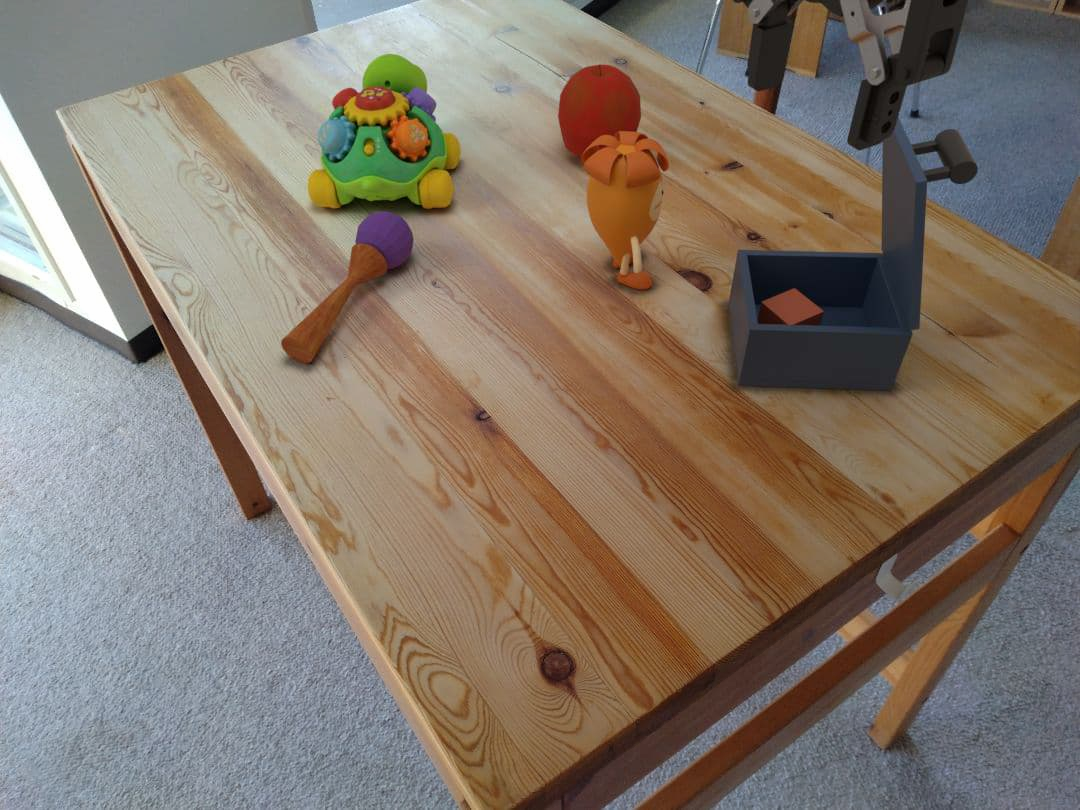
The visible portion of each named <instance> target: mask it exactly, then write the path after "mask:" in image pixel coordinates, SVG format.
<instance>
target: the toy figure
mask: <svg viewBox="0 0 1080 810" xmlns="http://www.w3.org/2000/svg"><path fill="white" fill-rule="evenodd" d="M599 145H606V146H607V147H606V148H603V149H601V150H599ZM651 150H652V151H654V152H656V157H655V156H654V154H653V152H652V151H651ZM580 160H581V161H580V162H581V163H582V164H583V171H584V172H585V173H586V174H587V175H588V176H589V177H588V181H587V187H586V205H587V210H588V215H589V218H590V221H591V224H592V227H593V229H594V231H595V232H596V234H597V235H598V236H599V238H600V239H601V241H602V242H603V243H604V244H605V246H606V248H607V249H608V251H609V253H610V254H611V256H612V258H613V260H612V266H613V267H614V268H616V269H620V270H619V271H618V274H617V276H616V281H617V283H620V284H621V285H624V286H627V287H629V288H632V289H635V290H648V289H650V288H651V287H652V285H653V280H652V277H651V275H650V274H649V273H647V272H646V271H642V270H643V267H642V266H643V264H642V263H643V262H642V261H643V260H642V251H641V244H643V242H644V241H646V239H647V238H648V237H649V236H650V235H651V233H652V231H653V230H654V228H655V226H656V224H657V223H658V220H659V217H660V214H661V211H662V206H663V199H664V193H665V192H664V184H663V176H662V173H661V171H662V172H667V171H668V169H669V166H670V164H669V163H670V162H669V159H668V157H667V155H666V152H665V150H664V148H663V147H662V145H661V144H660V142H658V141H657V140H655V139H653V138H649V137H648V136H647V135H646V134H645V133H642V132H638V131H637V132H630V131H619V132H617V133H616V134H615V136H614V137H613V136H611V135H603V136H600V137H599V138H597V139H596V140H595V141H594V142H592V143H591V144H590V146H589V147H588V148H587V149H586V150H585V151H584V153H583V155H582V157H581V159H580ZM630 264H633V265H632V266H633V271H629V269H630Z"/></svg>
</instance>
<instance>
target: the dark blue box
mask: <svg viewBox="0 0 1080 810" xmlns="http://www.w3.org/2000/svg"><path fill="white" fill-rule="evenodd" d="M735 258H736V259H735V263H734V264H735V265H734V271H733V276H732V282H731V287H730V293H729V299H728V305H727V306H728V313H729V321H730V330H731V337H732V338H731V339H732V347H733V352H734V361H735V368H736V377H737V385H738V386H739V387H763V388H764V387H767V388H795V389H823V390H825V389H826V390H853V391H854V390H857V391H880V392H881V391H885V392H892V389H893V386H894V384H895V382H896V379H897V376H898V374H899V371H900V368H901V366H902V364H903V361H904V358H905V356H906V353H907V350H908V348H909V345H910V343H911V340H912V338H913V335H914V333H913V330H910V329H909V327H908V324H907V321H906V318H905V315H904V312H903V310H902V307H901V304H900V301H899V298H898V295H897V292H896V289H895V287H894V284H893V281H892V278H891V275H890V272H889V269H888V266H887V264H886V261H885V258H884V255H883V252H857V251H853V252H852V251H851V252H850V251H815V250H814V251H809V250H806V251H805V250H771V249H770V250H769V249H768V250H766V249H764V250H763V249H737V253H736V257H735ZM794 288H795V289H797V290H798V291H799V292H800V293H802V294H803V295H804V296H805V297H807V298H808V299H809V300H810V301H812V302H813V303H814V304H815V305H817V306H818V307H819V308H820V309H822V310H823V311H824V313H823V317H822V321H821V324H820V326H812V325H778V324H758V316H759V311H760V306H761V302H762V301H765V300H767V299H769V298H772V297H774V296H777V295H779V294H782V293H784V292H786V291H789V290H791V289H794Z"/></svg>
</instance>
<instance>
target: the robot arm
mask: <svg viewBox="0 0 1080 810" xmlns="http://www.w3.org/2000/svg"><path fill="white" fill-rule="evenodd" d="M804 1H806V2H808V3H810V4H811V3H812V4H821V5H823V7H825V8H826V9H827V10H828V11H829V12H830V13H832V14H833V15H836V16H838V17H843V20H844V24H845V28H846V33H847V36H848V38H849V40H850V41H851V42H853V43H856V44H857V46H858V48H859V49H858V50H859V53H860V57H861V61H862V66H863V69H864V73H865V79H862V80H861V82H860V86H859V90H858V93H857V97H856V98H857V99H856V102H855V107H854V111H853V115H852V118H851V122H850V126H849V129H848V130H849V131H848V134H847V138H846V143H847V145H848V146H850V147H852V148H854V149H856V150H857V151H862V150H866V149H870V148H872V147H874V146H878V145H880V144H882V143H883V140H884V139H886V138H889V137H890V136H891V134H892V133H893V131H894V130H895V126H896V123H897V119H898V117H899V116H900V111H901V108H902V105H903V102H904V97H905V94H906V91H907V87H909V86H911V85H915V84H917V83H921V82H924V81H927V80H930V79H933V78H937V77H941V76H943V75H946V74H947V73H948V72H949V71H950V70H951V67H952V64H953V60H954V57H955V53H956V48H957V46H958V42H959V38H960V34H961V30H962V27H963V22H964V18H965V15H966V11H967V7H968V4H969V0H885V2H886V6H887V12H885V13H882V14H879V15H876V14H874V13H873V12H872V11H871V10H872V9H875V8H876V7H878V6H879V5H880V4H881V3H883V1H884V0H732V2H733V3H735V4H740V3H743V4H744V6H745V7H746V8H747V16H748V19H749V21H750V23H752V31H751V37H750V43H749V50H748V57H747V64H746V65H747V67H746V68H747V75H748V77H747V85H748V87H749V88H751V89H753V90H755V91H756V92H762V91H765V90H769V89H772V88H776V87H779V86H780V85H781V84H782V82H783V81H784V78H785V73H786V67H787V62H788V56H789V50H790V45H791V39H792V34H793V30H794V23H795V22H794V21H792V20H790V19H788V17H789V16H791V15H792V14H793V13H795V11H796V10H797V8H798V7H800V5H801V4H802V3H803V2H804ZM884 35H885V36H886V37H887V40H888V41H887V42H888V45H889V49H890V53H891V54H890V55H888V51H887V47H886V43H885V39H884ZM1078 810H1080V808H1079V809H1078Z"/></svg>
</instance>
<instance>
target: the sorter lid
mask: <svg viewBox="0 0 1080 810" xmlns="http://www.w3.org/2000/svg"><path fill="white" fill-rule="evenodd" d="M930 153H937V154H936V155H938V158H939V160H940V162H941V164H942V166H940V167H936V168H930V169H925V170H923V168H922V166H921V163H920V161H919V160H918V157H917V156H920V155H925V154H930ZM881 167H882V169H881V170H882V171H881V172H882V173H881V175H882V176H881V251H882V252H881V253H883V255H884V258H885V261H886V264H887V266H888V269H889V272H890V275H891V278H892V281H893V284H894V287H895V289H896V292H897V295H898V298H899V301H900V304H901V307H902V310H903V312H904V315H905V318H906V321H907V324H908V327H909V329H910V330H911V331H915V330H920V329H921V328H920V327H921V311H922V310H921V309H922V308H921V307H922V292H923V291H922V290H923V271H924V267H923V266H924V250H925V234H926V233H925V231H926V214H927V213H926V212H927V195H928V194H927V193H928V183H931V182H937V181H941V180H948V179H949V180H950V181H951V182H952V183H953V184H956V185H965V184H967V183H969V182H971V181H972V180H973V179H974V178H975V177H976V176H977V174H978V172H979V167H978V164H977V163H976V160H975V159H974V157H973V155H972V154H971V151H970V150H969V148H968V146H967V144H966V143H965V140H964V139H963V137H962V135H961V133H960V131H958V130H957V129H954V128H947V129H944V130H942V131H940V132H939V133H938V134H937V135H936V136H935V138H934V139H932V140H928V141H922V142H917V143H913V144H911V141H910V139H909V138H908V135H907V133H906V131H905V128H904V126H903V124H902V121H901V120H900V117H899V116H898V119H897V123H896V126H895V130H894V131H893V133H892V134H891V136H890V137H889V138H886V139H884V140H883V141H882V166H881Z"/></svg>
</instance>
